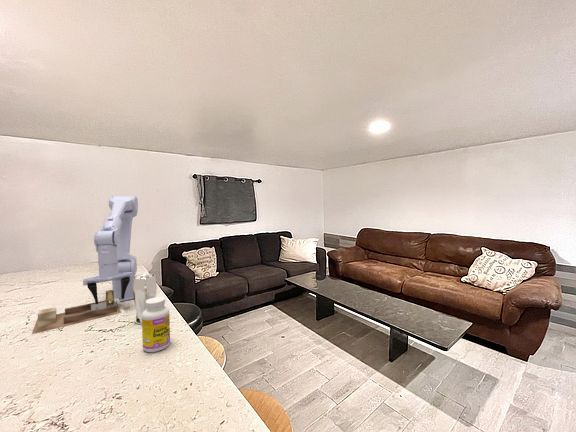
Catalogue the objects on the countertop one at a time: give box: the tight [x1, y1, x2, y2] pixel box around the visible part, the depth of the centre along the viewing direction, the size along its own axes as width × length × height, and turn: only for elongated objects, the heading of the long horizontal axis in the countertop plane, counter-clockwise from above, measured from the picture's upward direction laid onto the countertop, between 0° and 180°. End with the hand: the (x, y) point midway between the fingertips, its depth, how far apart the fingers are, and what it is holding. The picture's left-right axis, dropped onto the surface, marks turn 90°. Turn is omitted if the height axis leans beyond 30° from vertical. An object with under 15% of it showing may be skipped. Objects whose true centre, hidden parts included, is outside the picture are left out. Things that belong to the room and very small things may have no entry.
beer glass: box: [133, 273, 157, 326], centre depth 84 cm, size 7×7×15 cm
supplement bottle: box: [141, 296, 171, 353], centre depth 68 cm, size 7×7×13 cm
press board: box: [31, 299, 122, 335], centre depth 86 cm, size 22×14×4 cm, turn 130°
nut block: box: [37, 306, 58, 327], centre depth 80 cm, size 4×4×4 cm
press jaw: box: [91, 289, 116, 311], centre depth 90 cm, size 7×7×6 cm
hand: (110, 300), depth 91 cm, fingers open, 7 cm apart
